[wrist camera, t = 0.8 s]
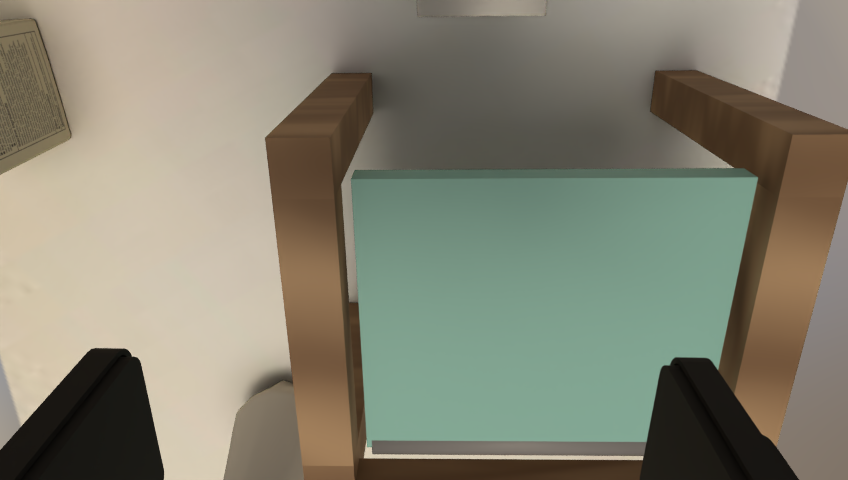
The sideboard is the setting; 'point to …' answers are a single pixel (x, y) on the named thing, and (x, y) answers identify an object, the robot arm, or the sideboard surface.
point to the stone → (480, 8)
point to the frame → (750, 311)
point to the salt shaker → (266, 438)
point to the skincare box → (27, 96)
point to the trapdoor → (537, 301)
